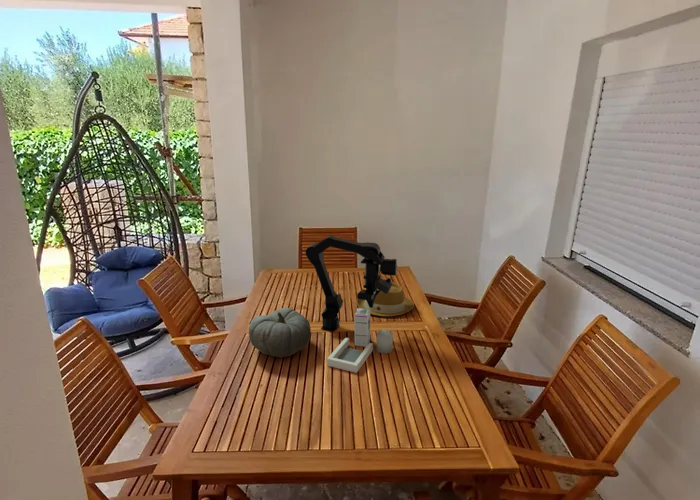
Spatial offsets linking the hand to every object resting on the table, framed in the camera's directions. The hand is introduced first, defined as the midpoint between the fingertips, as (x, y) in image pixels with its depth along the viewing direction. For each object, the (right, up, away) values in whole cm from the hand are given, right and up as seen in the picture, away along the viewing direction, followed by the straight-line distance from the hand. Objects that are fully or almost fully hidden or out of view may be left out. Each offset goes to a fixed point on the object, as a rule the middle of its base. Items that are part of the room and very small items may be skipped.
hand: (371, 307), depth 177 cm
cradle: (-8, -17, -16) cm, 25 cm away
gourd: (-37, -15, -10) cm, 41 cm away
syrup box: (-4, -14, -6) cm, 16 cm away
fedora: (+8, -4, +30) cm, 31 cm away
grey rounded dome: (+5, -15, -10) cm, 19 cm away
